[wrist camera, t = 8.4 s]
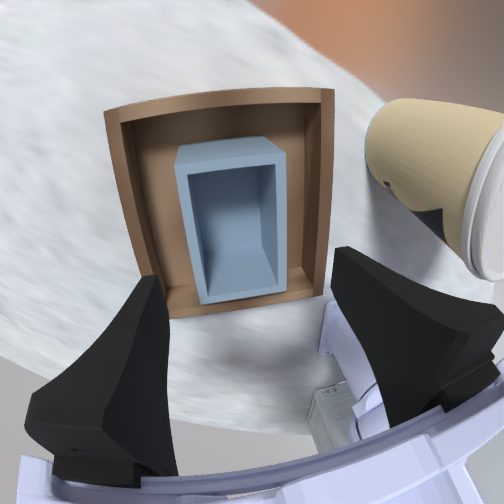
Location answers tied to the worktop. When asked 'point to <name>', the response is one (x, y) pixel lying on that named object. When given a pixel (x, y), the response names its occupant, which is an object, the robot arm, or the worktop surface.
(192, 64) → the worktop surface
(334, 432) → the supplement box
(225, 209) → the slate crate
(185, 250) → the walnut crate
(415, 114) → the coffee cup
